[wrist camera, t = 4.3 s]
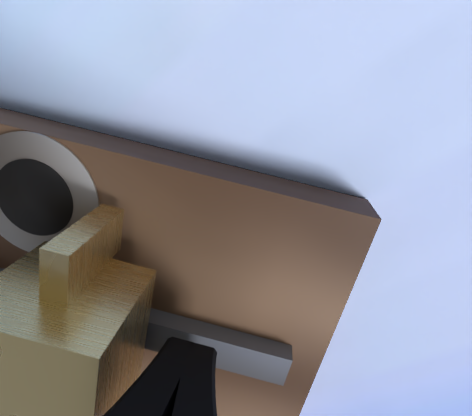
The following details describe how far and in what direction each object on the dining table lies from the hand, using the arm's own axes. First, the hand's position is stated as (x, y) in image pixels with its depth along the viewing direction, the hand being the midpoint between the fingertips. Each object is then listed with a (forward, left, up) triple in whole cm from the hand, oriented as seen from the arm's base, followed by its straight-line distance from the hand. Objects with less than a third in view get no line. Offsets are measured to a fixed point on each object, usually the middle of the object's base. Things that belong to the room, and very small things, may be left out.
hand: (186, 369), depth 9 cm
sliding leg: (+1, +3, -1) cm, 3 cm away
